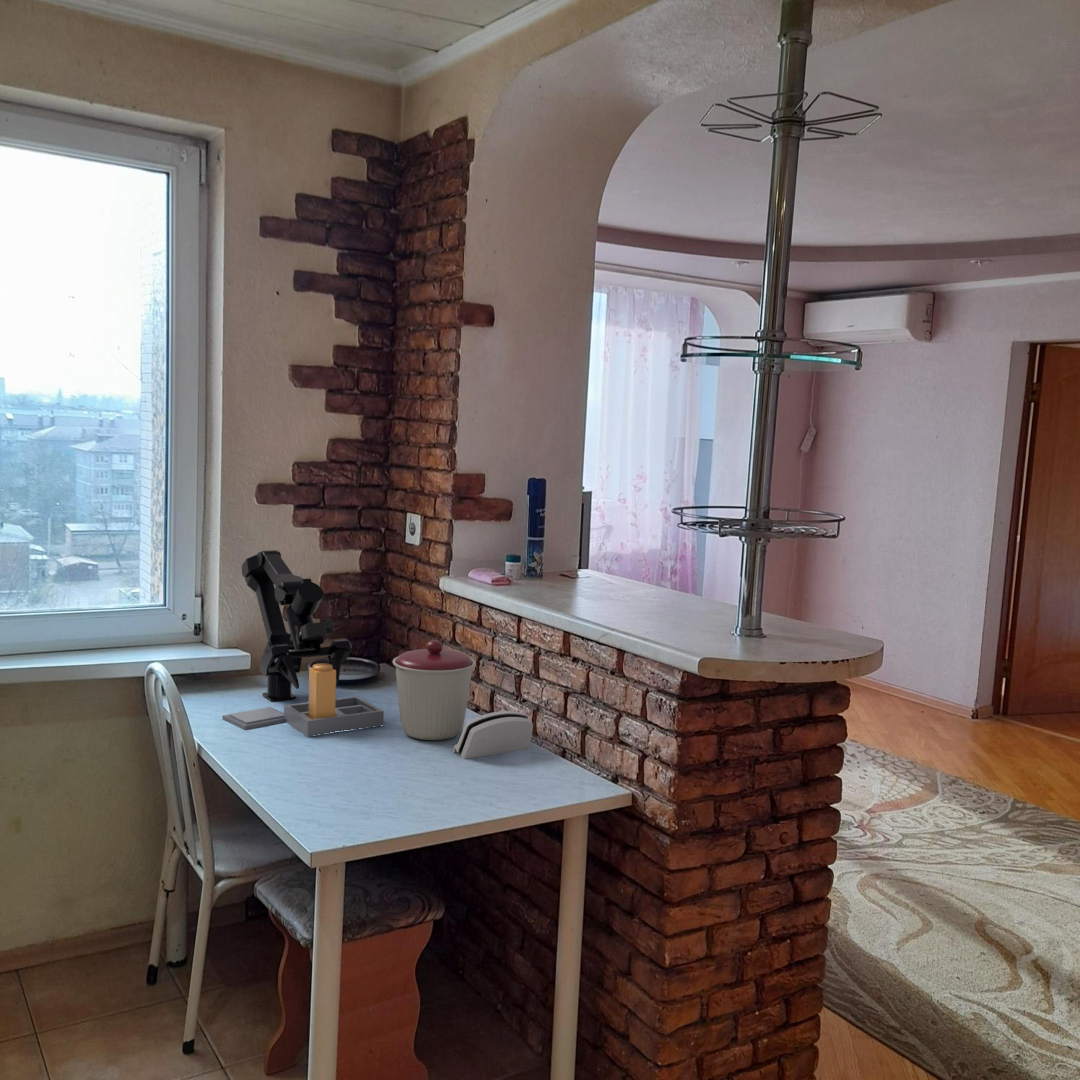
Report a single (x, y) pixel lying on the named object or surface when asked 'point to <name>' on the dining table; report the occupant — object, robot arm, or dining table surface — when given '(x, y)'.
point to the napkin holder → (495, 734)
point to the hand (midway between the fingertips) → (317, 685)
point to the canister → (433, 691)
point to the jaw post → (322, 691)
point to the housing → (346, 716)
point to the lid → (255, 718)
